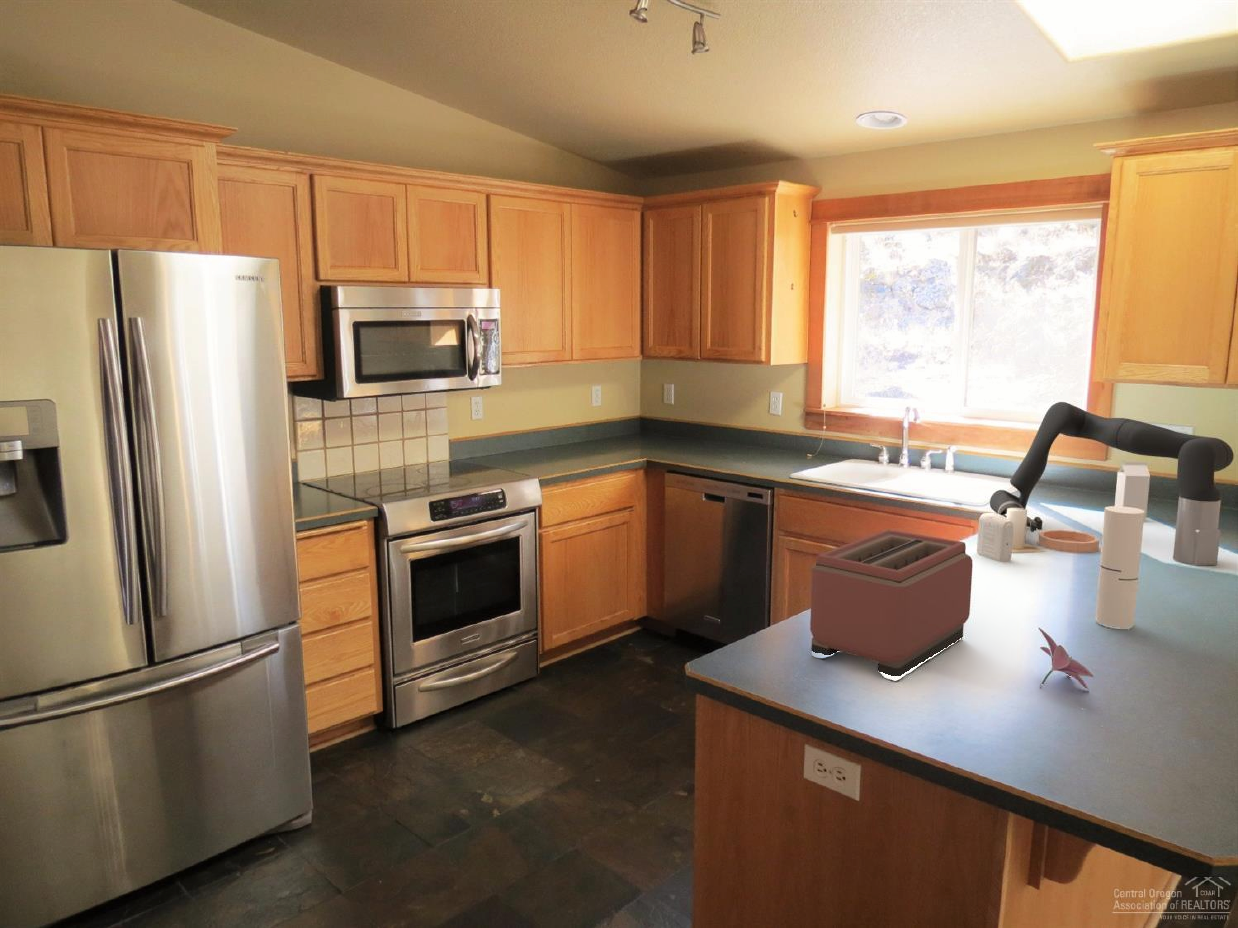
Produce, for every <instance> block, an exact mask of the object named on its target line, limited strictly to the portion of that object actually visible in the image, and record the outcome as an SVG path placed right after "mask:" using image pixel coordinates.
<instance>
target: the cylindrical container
mask: <svg viewBox="0 0 1238 928" xmlns="http://www.w3.org/2000/svg"><path fill="white" fill-rule="evenodd" d="M1144 522H1145V521H1144V511H1143V510H1141V509H1137V508H1132V507H1123V506H1115V505H1113V506H1112V505H1111V506H1105V507H1104V512H1103V525H1102V535H1101V536H1102V537H1101V547H1100V548H1101V549H1100V559H1099V574H1098V585H1097V596H1096V605H1095V606H1096V607H1095V608H1096V609H1095V618H1094V619H1096V621H1097V622H1098V623H1101V624H1105V625H1107V626H1112V627H1120V628H1127V627H1132V626H1133V625H1134V626H1135V616H1136V604H1137V594H1138V584H1139V583H1138V582H1139V573H1140V563H1141V562H1140V561H1141V552H1142V541H1143V531H1144V530H1143V529H1144Z"/></svg>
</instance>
